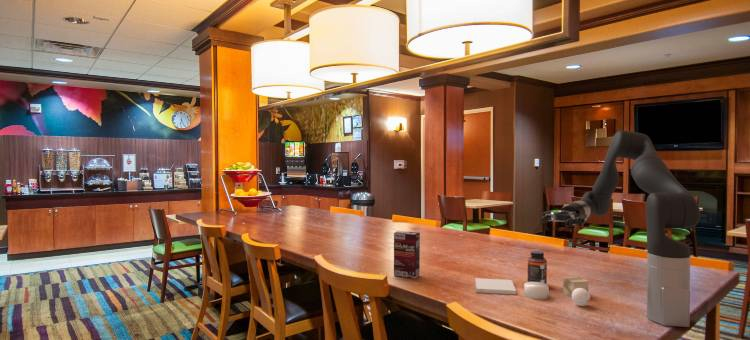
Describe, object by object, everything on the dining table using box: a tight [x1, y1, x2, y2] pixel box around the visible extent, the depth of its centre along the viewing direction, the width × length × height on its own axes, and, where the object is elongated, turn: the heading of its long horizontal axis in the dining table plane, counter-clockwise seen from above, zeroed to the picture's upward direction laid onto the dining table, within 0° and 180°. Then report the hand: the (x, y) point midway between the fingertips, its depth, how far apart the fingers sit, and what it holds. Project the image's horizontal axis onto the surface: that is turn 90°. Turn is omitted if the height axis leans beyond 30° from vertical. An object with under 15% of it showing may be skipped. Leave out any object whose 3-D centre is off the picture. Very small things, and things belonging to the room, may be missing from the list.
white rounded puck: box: [523, 281, 550, 300], centre depth 133 cm, size 7×7×4 cm
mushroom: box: [571, 288, 591, 307], centre depth 124 cm, size 5×5×5 cm
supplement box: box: [393, 230, 421, 279], centre depth 156 cm, size 9×5×16 cm, turn 65°
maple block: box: [562, 276, 589, 298], centre depth 133 cm, size 5×5×5 cm
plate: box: [474, 277, 517, 295], centre depth 141 cm, size 12×12×1 cm
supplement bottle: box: [527, 250, 548, 285], centre depth 143 cm, size 6×6×11 cm
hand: (554, 222), depth 149 cm, fingers open, 8 cm apart
